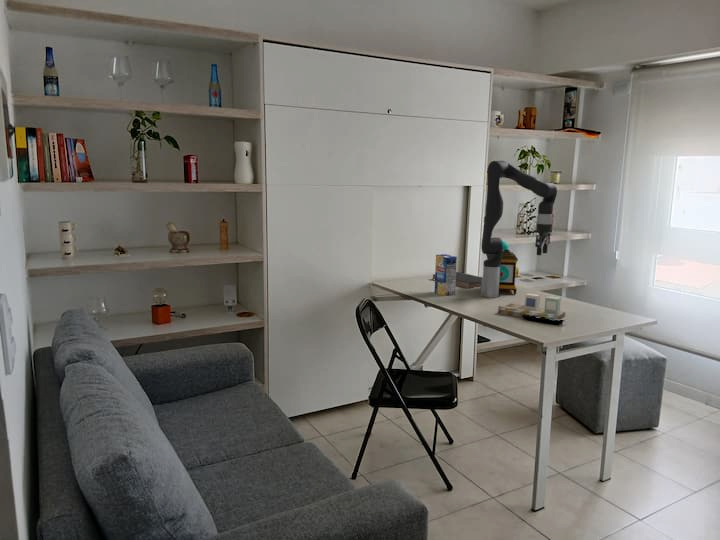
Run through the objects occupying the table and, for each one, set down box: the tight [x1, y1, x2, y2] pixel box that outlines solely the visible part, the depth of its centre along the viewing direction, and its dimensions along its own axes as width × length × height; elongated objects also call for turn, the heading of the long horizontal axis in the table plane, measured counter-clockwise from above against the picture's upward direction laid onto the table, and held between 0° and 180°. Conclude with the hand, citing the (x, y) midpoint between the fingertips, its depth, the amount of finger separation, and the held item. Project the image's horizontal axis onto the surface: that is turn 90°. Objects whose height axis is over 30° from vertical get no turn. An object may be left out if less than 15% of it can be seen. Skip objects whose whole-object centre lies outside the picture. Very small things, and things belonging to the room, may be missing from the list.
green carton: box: [544, 295, 562, 316], centre depth 269 cm, size 6×4×8 cm
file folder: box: [432, 271, 483, 289], centre depth 355 cm, size 33×4×24 cm
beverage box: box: [434, 253, 458, 297], centre depth 318 cm, size 7×11×22 cm, turn 26°
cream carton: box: [524, 292, 541, 312], centre depth 275 cm, size 6×4×8 cm
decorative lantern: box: [485, 240, 519, 295], centre depth 326 cm, size 20×20×30 cm
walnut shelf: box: [497, 302, 566, 320], centre depth 275 cm, size 28×16×4 cm, turn 53°
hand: (541, 254), depth 286 cm, fingers open, 8 cm apart
